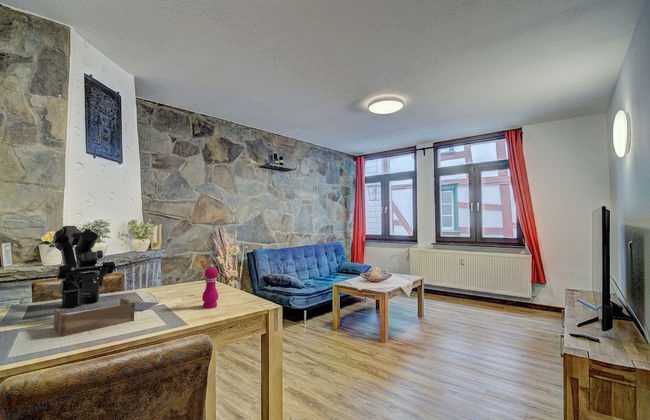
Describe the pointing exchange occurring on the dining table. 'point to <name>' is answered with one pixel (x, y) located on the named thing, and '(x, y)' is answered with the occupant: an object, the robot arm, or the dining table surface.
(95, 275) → the supplement bottle
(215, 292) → the pepper mill
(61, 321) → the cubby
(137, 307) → the felt mat
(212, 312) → the dining table surface
